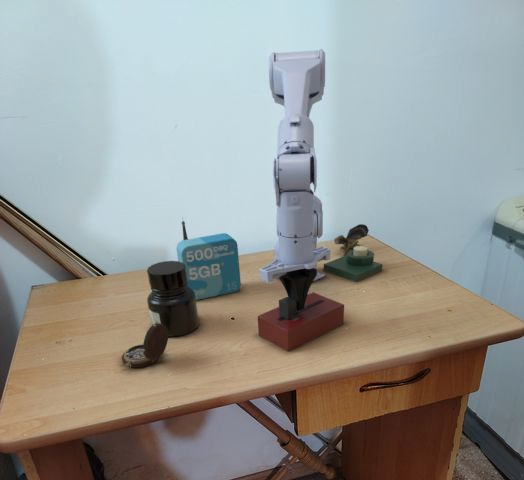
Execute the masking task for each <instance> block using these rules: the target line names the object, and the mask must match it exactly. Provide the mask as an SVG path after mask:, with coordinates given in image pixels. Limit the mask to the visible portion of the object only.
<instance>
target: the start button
mask: <svg viewBox="0 0 524 480" xmlns="http://www.w3.org/2000/svg"><path fill="white" fill-rule="evenodd" d="M353 250H354V251H353V255H354V256H358V257H363V256H367V253H368V250H369V248H368V247H367V246H364V245H360V246H356V247H354V249H353Z"/></svg>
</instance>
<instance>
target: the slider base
mask: <svg viewBox="0 0 524 480" xmlns="http://www.w3.org/2000/svg"><path fill="white" fill-rule="evenodd" d="M344 320H345V304H343V303H341V302H339V301H336V300H334V299H332V298H329V297H326V296H324V295H321V294H319V293H317V292H310V293H308V294H307V298H306V301H305V305H304V309H301V310H299V311H298V310H297V316H296V317H293V318H291V319H289V320H288V319H286V318H284V317H281V316H279V306H277V307H275V308H273V309H271V310H268V311H266V312H264V313H261V314H259V315H257V329H258V336H259V337H261V338H262V339H265V340H267V341H268V342H270V343H272V344H273V345H275V346H277V347H279V348H281V349H283V350H285V351H286V352H290V351H292V350H294V349H296V348H298V347H300V346H302V345H305V344H306V343H308V342H310V341H312V340H314V339H316V338H319V337H320V336H323V335H324V334H326V333H328V332H330V331H332V330H335V329H336V328H338V327H341V326H342V325H344V324H345V323H344Z"/></svg>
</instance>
